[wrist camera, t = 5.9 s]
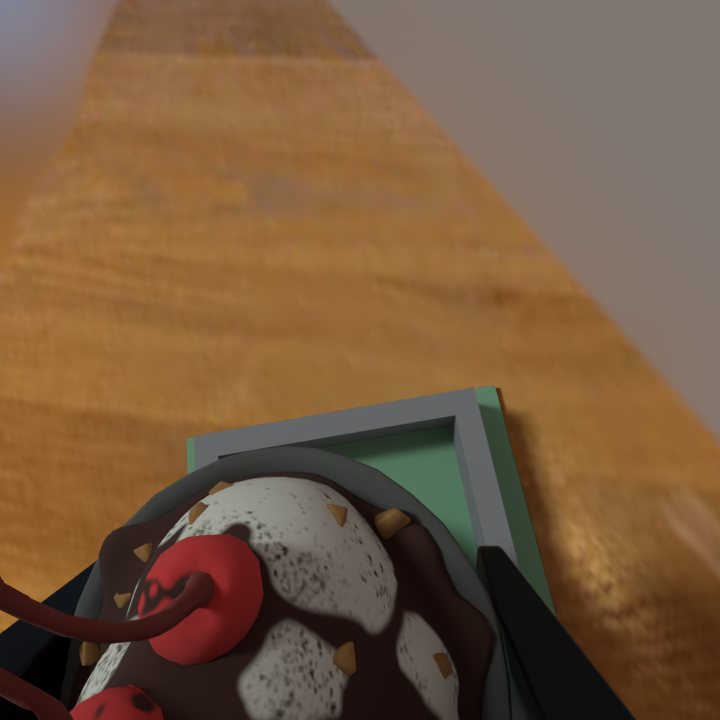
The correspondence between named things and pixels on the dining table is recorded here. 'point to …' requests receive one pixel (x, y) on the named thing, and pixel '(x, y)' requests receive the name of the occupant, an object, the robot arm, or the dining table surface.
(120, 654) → the sundae
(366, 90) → the dining table surface
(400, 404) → the rimmed mat
